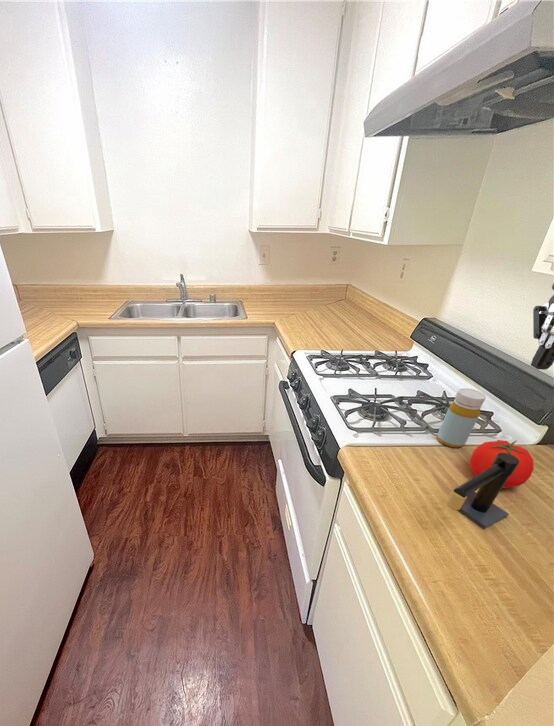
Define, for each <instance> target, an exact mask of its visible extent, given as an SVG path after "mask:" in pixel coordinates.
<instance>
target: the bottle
mask: <svg viewBox="0 0 554 726" xmlns="http://www.w3.org/2000/svg"><path fill="white" fill-rule="evenodd" d="M486 398H487V396H486V394H485V393H484V392H481V391H479V390H477V389H473V388H465V387H463V388H459V389H458V391H457V393H456V395H455V398H454V400H453V402H451V403H450V405H449V407H448V408H447V411H446V413H445V415H444V419H443V420H442V423H441V425H440V426H439V430H438V432H437V435H436V438H437V440H438V442H439V443H441V444H442V445H444V446H446V447H449V448H454V449H456V448H457V449H458V448H462V447H464V446H465V444H466V443H467V441H468V439H469V437H470V435H471V433H472V431H473V429H474V427H475V425H476V423H477V421H478V420H479V418H480V415H481V408H482V407H483V404H484V402H485V401H486Z"/></svg>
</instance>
